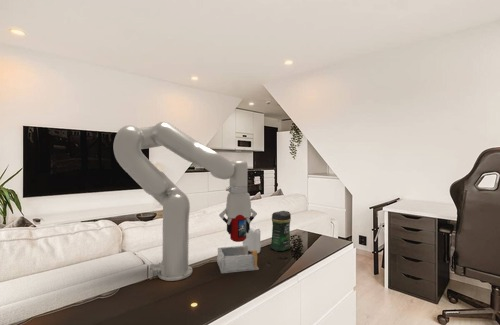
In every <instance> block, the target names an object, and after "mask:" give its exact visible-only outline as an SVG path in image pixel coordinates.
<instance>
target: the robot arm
mask: <svg viewBox="0 0 500 325" xmlns="http://www.w3.org/2000/svg"><path fill="white" fill-rule="evenodd" d="M112 146H113V154H114V158H115V160H116V162H117V163H118V164H119V166H120V167H121V168H122V169H123V170H124V171H125V173H127V174H128V175H129V176H130V178H132V179H133V181H135V182H136V183H137V184H138V185H139V186H140V188H142V190H143V191H144V192H145V193H146V194H148V195H150V196H151V197H152V198H154V200H155V201H156V202H158V203H159V204H160V205H161V206H162V259H161V262H159V263H154V264H153V263H152V264H151V263H150V264H149V270H150V271H151V270H152V272H154V273H155V272H157V277H158V278H159V279H161V280H163V281H166V282H173V281H180V280H184V279H187V278H189V277H190V276H191V275H192V274H193V268H192V266H190V265H189V242H190V241H189V240H190V239H189V236H190V235H189V228H190V227H189V222H190V211H191V210H190V209H191V204H190V199H189V198H188V195H187V194H185V193H184V192H183V191H182V190H181V189H180V188H179V187H178V186H177V185H176V184H175V183H174V182H173V181H172V180H171V179H170V178H169V177H168V176H167V175H166V174H165V173H164V172H163V171H161V170H160V169H159V168H158V167H157V166H155V165H154V164H153V162H152V161H150V160H149V158H148V157H146V155H145V154H144V153H143V151H142V150H145V149H152V148H158V147H165V148H166V149H167V150H169V151H171V152H173V153H174V154H175V155H177V156H179V157H180V158H181V159H183V160H185V161H187V162H188V163H192V164H194V165H197V166H199V167H201V168H203V169H205V170H207V171H208V172H210V175H211V176H212V177H214V178H215V179H216V178H217V179H220V180H228V179H229V185H228V187H225V191H226V192H228V193H227V197H226V206H225V209H224V210H223V211H221V212H220V213H219V215H218V216H219V217H220V219H221V220H223V222H225V223H226V233H228V235H230V234H231V224H230V222H231V220H232V219H234V218H236V216H238V215H243V216H244V218H246V232H247V233H249V230H250V224H251V223H252V221H253V220H254V219H255V217H256V216H257V215H258V213H257V212H256V211H255V210H254V209H253V208H252V202H251V195H250V193H249V192H248V166H249V165H248V162H247V161H246V160H232V161H230V160H229V159H227V158H226V157H224V156H223V155H221V154H220V153H218V152H216V151H215V150H213V149H212V148H210V147H208V146H206V145H204V144H203V143H201V142H199V141H198V140H196V139H194V138H192V137H191V136H190V135H188V134H186V133H185V132H184V131H182V130H181V129H179V128H177V127H176V126H174V125H173V124H171V123H169V122H167V121H160V122H158V123H156V124H155V125H152V126H146V127H137V126H135V125H125V126H123V127H121V128H119V130H118V131H117V133H116V134H115V137H114V140H113V145H112ZM225 215H226V217H227V218H226V217H225Z"/></svg>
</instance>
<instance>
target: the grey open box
mask: <svg viewBox="0 0 500 325" xmlns="http://www.w3.org/2000/svg"><path fill="white" fill-rule="evenodd" d="M216 262H217V263H216V264H217V265H218V268H219V271H220V274H229V273H240V272H249V271H258V270H259V269H260V268H259V266H258V253H257V250H252V252H251V253H249V251H248V246H243V245H238V246H237V245H236V246H234V245H233V246H224V247H217V258H216Z"/></svg>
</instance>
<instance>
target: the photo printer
mask: <svg viewBox="0 0 500 325" xmlns="http://www.w3.org/2000/svg"><path fill="white" fill-rule="evenodd" d="M242 246H248V252H250V253H252V250H257V254H259V253H260V252H261V230H260V228H259V227H258V226H256V225H254V224H251V223H250V230H249V233H247V232H246V239H245V240H244V241H242Z"/></svg>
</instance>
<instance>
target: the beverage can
mask: <svg viewBox="0 0 500 325" xmlns="http://www.w3.org/2000/svg"><path fill="white" fill-rule="evenodd" d="M230 224H231V234H229V236H230V240H231V241H232V242H235V243H240V242H241V243H243V241H244V240H245V239H246V218H244V216H243V215H238V216H236V218H234V219H232V220H231V222H230Z"/></svg>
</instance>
